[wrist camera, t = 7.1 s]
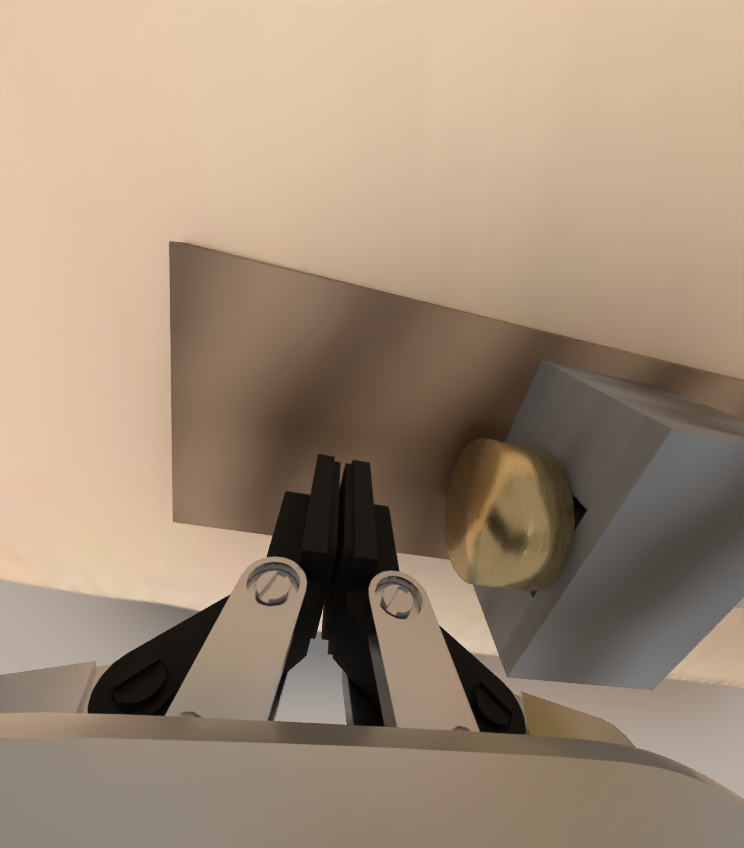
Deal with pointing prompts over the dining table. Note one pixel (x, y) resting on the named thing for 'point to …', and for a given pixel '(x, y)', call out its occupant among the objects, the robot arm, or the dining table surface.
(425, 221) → the dining table surface
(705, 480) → the bearing stand
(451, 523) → the shaft
